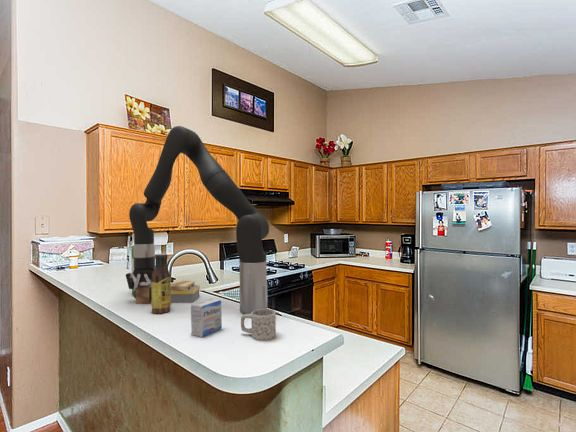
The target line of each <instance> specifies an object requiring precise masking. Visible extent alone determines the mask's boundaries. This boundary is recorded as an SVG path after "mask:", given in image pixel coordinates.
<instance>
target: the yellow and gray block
mask: <svg viewBox="0 0 576 432" xmlns="http://www.w3.org/2000/svg"><path fill="white" fill-rule="evenodd" d="M200 288H201V286H200V285H199V284H198V285H194V286H192V287H191V288H188V290H187V291H171V303H194V302H195V301H196V300H197V299H198V298H199V297H200Z"/></svg>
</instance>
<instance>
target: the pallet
mask: <svg viewBox="0 0 576 432" xmlns="http://www.w3.org/2000/svg"><path fill="white" fill-rule="evenodd" d="M194 285H195V280H174V281H173V282H171V291H187V290H188V288H191V287H192V286H194Z"/></svg>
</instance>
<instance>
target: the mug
mask: <svg viewBox="0 0 576 432" xmlns="http://www.w3.org/2000/svg"><path fill="white" fill-rule="evenodd" d="M276 315H277V314H276V311H275V310H274V309H271V308H267V309H258V310H254V311H252V312H251V314H242V315H241V317H240V328H241V331H242V332H245V333H246V334H247V333H248V334H251V338H252V340H256V341H259V342H260V341H261V342H264V341H266V342H267V341H271V340H273V339H275V338H276V337H277V336H276V335H277V331H276V324H277V323H276V321H277V319H276ZM245 319H251V328H247V327H245Z"/></svg>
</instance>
